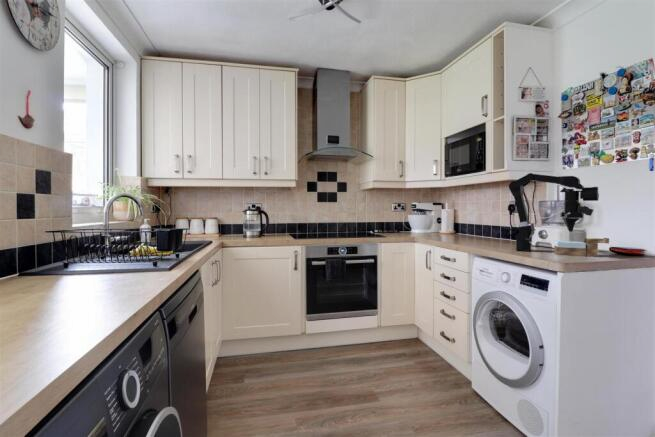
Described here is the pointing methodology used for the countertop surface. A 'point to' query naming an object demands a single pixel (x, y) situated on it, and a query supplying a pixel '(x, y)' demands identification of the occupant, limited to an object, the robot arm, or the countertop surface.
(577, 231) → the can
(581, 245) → the lid
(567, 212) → the robot arm
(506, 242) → the countertop surface
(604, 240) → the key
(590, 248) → the chisel box
